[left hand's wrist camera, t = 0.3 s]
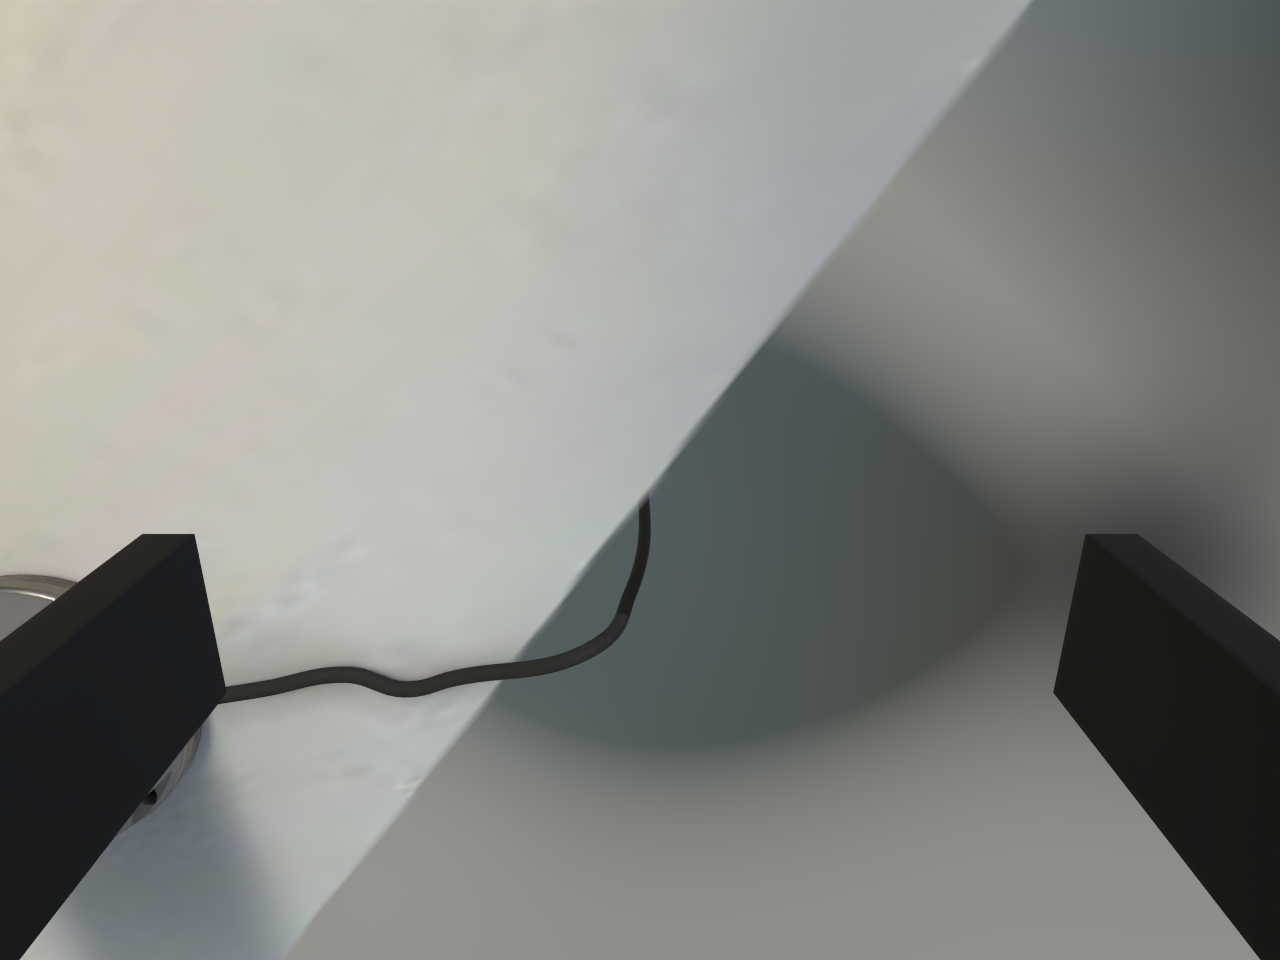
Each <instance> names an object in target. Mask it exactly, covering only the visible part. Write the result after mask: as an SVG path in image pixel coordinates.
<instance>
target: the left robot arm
mask: <svg viewBox="0 0 1280 960" xmlns="http://www.w3.org/2000/svg"><path fill="white" fill-rule="evenodd" d="M226 693H227V692H226V687H225V682H224V677H223V672H222V667H221V662H220V657H219V652H218V648H217V643H216V638H215V633H214V628H213V623H212V618H211V613H210V608H209V603H208V598H207V593H206V589H205V584H204V579H203V574H202V569H201V564H200V559H199V554H198V549H197V544H196V539H195V534H142V535H141V536H139V537H138V538H137V539H135V540H134V541H133V542H131V543H130V544H129V545H127V546H126V547H125V548H123V549H122V550H121V551H119V552H118V553H117V554H115V555H114V556H113V557H111V558H110V559H109V560H107V561H106V562H105V563H103V564H102V565H101V566H99V567H98V568H97V569H95V570H94V571H93V572H91V573H90V574H89V575H87V576H86V577H85V578H83V579H82V580H81V581H79V582H78V583H77V584H75V585H74V586H73V587H71V588H70V589H69V590H67V591H66V592H65V593H63V594H62V595H61V596H59V597H58V598H57V599H55V600H54V601H53V602H51V603H50V604H49V605H47V606H46V607H45V608H43V609H42V610H41V611H40V612H38V613H37V614H36V615H34V616H33V617H32V618H30V619H29V620H28V621H26V622H25V623H24V624H22V625H21V626H20V627H18V628H17V629H16V630H14V631H13V632H12V633H10V634H9V635H8V636H6V637H5V638H4V639H2V640H1V641H0V960H20V958H21V957H22V956H23V955H24V953H25V952H26V951H27V949H28V948H29V947H30V945H31V944H32V943H33V942H34V940H35V939H36V938H37V936H38V935H39V934H40V933H41V931H42V930H43V929H44V927H45V926H46V925H47V924H48V922H49V921H50V920H51V918H52V917H53V916H54V915H55V913H56V912H57V911H58V909H59V908H60V907H61V906H62V904H63V903H64V902H65V900H66V899H67V898H68V896H69V895H70V894H71V893H72V891H73V890H74V889H75V887H76V886H77V885H78V884H79V882H80V881H81V880H82V878H83V877H84V876H85V875H86V873H87V872H88V871H89V869H90V868H91V867H92V866H93V864H94V863H95V862H96V860H97V859H98V858H99V857H100V855H101V854H102V853H103V851H104V850H105V849H106V848H107V846H108V845H109V844H110V842H111V841H112V840H113V838H114V837H115V836H116V835H117V833H118V832H119V831H120V829H121V828H122V827H123V826H124V824H125V823H126V822H127V820H128V819H129V818H130V817H131V815H132V814H133V813H134V811H135V810H136V809H137V808H138V806H139V805H140V804H141V802H142V801H143V800H144V799H145V797H146V796H147V795H148V793H149V792H150V791H151V790H152V788H153V787H154V786H155V784H156V783H157V782H158V780H159V779H160V778H161V777H162V775H163V774H164V773H165V771H166V770H167V769H168V768H169V766H170V765H171V764H172V762H173V761H174V760H175V759H176V757H177V756H178V755H179V753H180V752H181V751H182V750H183V748H184V747H185V746H186V744H187V743H188V742H189V741H190V739H191V738H192V737H193V735H194V734H195V733H196V732H197V730H198V729H199V728H200V726H201V725H202V724H203V722H204V721H205V720H206V719H207V717H208V716H209V715H210V713H211V712H212V711H213V710H214V708H215V707H216V706H217V704H218V703H219V702H220V701H221V699H222V698H223V697H224V695H225V694H226ZM1053 693H1054V694H1055V695H1056V697H1057V698H1058V699H1059V701H1060V702H1061V703H1062V704H1063V706H1064V707H1065V708H1066V710H1067V711H1068V712H1069V713H1070V715H1071V716H1072V717H1073V719H1074V720H1075V721H1076V722H1077V724H1078V725H1079V726H1080V728H1081V729H1082V730H1083V732H1084V733H1085V734H1086V735H1087V737H1088V738H1089V739H1090V741H1091V742H1092V743H1093V744H1094V746H1095V747H1096V748H1097V750H1098V751H1099V752H1100V753H1101V755H1102V756H1103V757H1104V758H1105V760H1106V761H1107V762H1108V764H1109V765H1110V766H1111V767H1112V769H1113V770H1114V771H1115V773H1116V774H1117V775H1118V777H1119V778H1120V779H1121V780H1122V782H1123V783H1124V784H1125V786H1126V787H1127V788H1128V790H1129V791H1130V792H1131V793H1132V795H1133V796H1134V797H1135V799H1136V800H1137V801H1138V802H1139V804H1140V805H1141V806H1142V808H1143V809H1144V810H1145V811H1146V813H1147V814H1148V815H1149V817H1150V818H1151V819H1152V820H1153V822H1154V823H1155V824H1156V826H1157V827H1158V828H1159V829H1160V831H1161V832H1162V833H1163V835H1164V836H1165V837H1166V838H1167V840H1168V841H1169V842H1170V844H1171V845H1172V846H1173V848H1174V849H1175V850H1176V851H1177V853H1178V854H1179V855H1180V857H1181V858H1182V859H1183V860H1184V862H1185V863H1186V864H1187V866H1188V867H1189V868H1190V869H1191V871H1192V872H1193V873H1194V875H1195V876H1196V877H1197V878H1198V880H1199V881H1200V882H1201V884H1202V885H1203V886H1204V887H1205V889H1206V890H1207V891H1208V893H1209V894H1210V895H1211V896H1212V898H1213V899H1214V900H1215V902H1216V903H1217V904H1218V906H1219V907H1220V908H1221V909H1222V911H1223V912H1224V913H1225V915H1226V916H1227V917H1228V918H1229V920H1230V921H1231V922H1232V924H1233V925H1234V926H1235V927H1236V929H1237V930H1238V931H1239V933H1240V934H1241V935H1242V936H1243V938H1244V939H1245V940H1246V942H1247V943H1248V944H1249V945H1250V947H1251V948H1252V949H1253V951H1254V952H1255V953H1256V954H1257V956H1258V957H1259V958H1260V960H1280V641H1279V640H1278V639H1276V638H1275V637H1274V636H1272V635H1271V634H1270V633H1268V632H1267V631H1266V630H1264V629H1263V628H1262V627H1260V626H1259V625H1258V624H1256V623H1255V622H1254V621H1252V620H1251V619H1250V618H1248V617H1247V616H1246V615H1244V614H1243V613H1242V612H1240V611H1239V610H1238V609H1236V608H1235V607H1234V606H1233V605H1231V604H1230V603H1229V602H1227V601H1226V600H1225V599H1223V598H1222V597H1221V596H1219V595H1218V594H1217V593H1215V592H1214V591H1213V590H1211V589H1210V588H1208V587H1207V586H1206V585H1205V584H1203V583H1202V582H1201V581H1199V580H1198V579H1197V578H1195V577H1194V576H1193V575H1191V574H1190V573H1189V572H1187V571H1186V570H1185V569H1183V568H1182V567H1181V566H1179V565H1178V564H1177V563H1175V562H1174V561H1173V560H1171V559H1170V558H1169V557H1167V556H1166V555H1165V554H1163V553H1162V552H1161V551H1159V550H1158V549H1157V548H1155V547H1154V546H1153V545H1151V544H1150V543H1149V542H1147V541H1146V540H1145V539H1143V538H1142V537H1141V536H1139V535H1138V534H1086V535H1085V539H1084V544H1083V549H1082V554H1081V559H1080V564H1079V569H1078V574H1077V579H1076V584H1075V589H1074V593H1073V598H1072V603H1071V608H1070V613H1069V618H1068V623H1067V628H1066V633H1065V638H1064V643H1063V648H1062V652H1061V657H1060V662H1059V667H1058V672H1057V677H1056V682H1055V687H1054V692H1053Z"/></svg>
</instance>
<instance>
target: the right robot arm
mask: <svg viewBox="0 0 1280 960" xmlns="http://www.w3.org/2000/svg"><path fill="white" fill-rule="evenodd" d="M638 507H639V534H638V544H637V550H636V556H635V560H634V564H633V568H632V571H631V574H630V577H629V580H628V582H627V585H626V587H625V589H624V592H623V594H622V597H621V600H620V603H619V606H618V609H617V612H616V614H615V617H614V619H613V620H612V622H611V623H610V625H609V626H608V627H607V628H606V629H605V630H604V631H603V632H602V633H601V634H599V635H598V636H597V637H595V638H594V639H592V640H590V641H589V642H587V643H585V644H583V645H581V646H579V647H577V648H575V649H572V650H570V651H567V652H565V653H562V654H558V655H555V656H551V657H547V658H542V659H537V660H530V661H523V662H514V663H503V664H493V665H484V666H477V667H470V668H464V669H459V670H454V671H450V672H446V673H443V674H439V675H436V676H433V677H430V678H427V679H423V680H419V681H410V682H405V681H397V680H393V679H389V678H387V677H384V676H382V675H379V674H377V673H374V672H371V671H368V670H365V669H361V668H356V667H329V668H320V669H314V670H309V671H305V672H301V673H297V674H293V675H289V676H285V677H281V678H276V679H271V680H266V681H261V682H254V683H248V684H242V685H235V686H229V687H226V692H227V693H226V694H225V695H224V697H223V698H222V699H221V701H220V702H219V703H218V704H222V703H229V702H235V701H241V700H248V699H254V698H260V697H266V696H271V695H276V694H280V693H285V692H289V691H293V690H297V689H300V688H305V687H309V686H314V685H319V684H327V683H353V684H358V685H362V686H365V687H367V688H370V689H372V690H375V691H377V692H380V693H383V694H386V695H390V696H395V697H418V696H423V695H427V694H430V693H434V692H437V691H440V690H443V689H446V688H449V687H453V686H458V685H464V684H469V683H476V682H484V681H493V680H504V679H515V678H524V677H532V676H538V675H544V674H549V673H553V672H557V671H560V670H563V669H567V668H570V667H572V666H575V665H577V664H580V663H582V662H584V661H586V660H588V659H590V658H592V657H594V656H596V655H597V654H599V653H601V652H602V651H604V650H605V649H607V648H608V647H609V646H611V645H612V644H613V643H614V642H615V641H616V640H617V639H618V638H619V637H620V636H621V634H622V633H623V631H624V630H625V628H626V625H627V623H628V621H629V618H630V615H631V611H632V608H633V605H634V601H635V599H636V596H637V593H638V591H639V588H640V585H641V582H642V580H643V576H644V573H645V569H646V566H647V561H648V556H649V549H650V539H651V517H650V500H649V491H648V492H647V493H646V494H645V496H644V497H643V498H642V499H641V500H640V502H639V503H638ZM75 584H77V583H73V582H69V581H66V580H62V579H57V578H52V577H45V576H36V575H8V576H0V641H1V640H2V639H4V638H5V637H6V636H8V635H9V634H10V633H12V632H13V631H14V630H16V629H17V628H18V627H20V626H21V625H22V624H24V623H25V622H26V621H28V620H29V619H30V618H32V617H33V616H34V615H36V614H37V613H38V612H40V611H41V610H42V609H43V608H45V607H46V606H47V605H49V604H50V603H51V602H53V601H54V600H55V599H57V598H58V597H59V596H61V595H62V594H63V593H65V592H66V591H67V590H69V589H70V588H71V587H73V586H74V585H75ZM200 735H201V726H200V728H199V729H198V730H197V732H196V733H195V734H194V735H193V737H192V738H191V739H190V741H189V742H188V743H187V744H186V746H185V747H184V748H183V750H182V751H181V752H180V753H179V755H178V756H177V757H176V759H175V760H174V761H173V762H172V764H171V765H170V766H169V768H168V769H167V770H166V771H165V773H164V774H163V775H162V777H161V778H160V779H159V780H158V782H157V783H156V784H155V786H154V787H153V788H152V790H151V791H150V792H149V793H148V795H147V796H146V797H145V799H144V800H143V801H142V802H141V804H140V805H139V806H138V808H137V809H136V810H135V811H134V813H133V814H132V815H131V817H130V818H129V819H128V820H127V822H126V823H125V824H124V826H123V827H122V828H121V829H120V831H119V832H118V833H117V835H118V834H120V833H121V832H123V831H124V830H126V829H127V828H129V827H130V826H132V825H133V824H135V823H136V822H138V821H139V820H141V819H142V818H144V817H145V816H147V815H148V814H149V813H151V812H152V811H153V810H155V809H156V808H157V807H158V806H159V805H160V804H161V803H162V802H163V801H164V800H165V799H166V798H167V796H168V795H169V794H170V793H171V791H172V790H173V789H174V787H175V786H176V785H177V783H178V782H179V781H180V779H181V778H182V776H183V775H184V774H185V772H186V771H187V769H188V768H189V766H190V765H191V763H192V761H193V759H194V756H195V754H196V751H197V748H198V745H199V740H200ZM117 835H116V836H117Z"/></svg>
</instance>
